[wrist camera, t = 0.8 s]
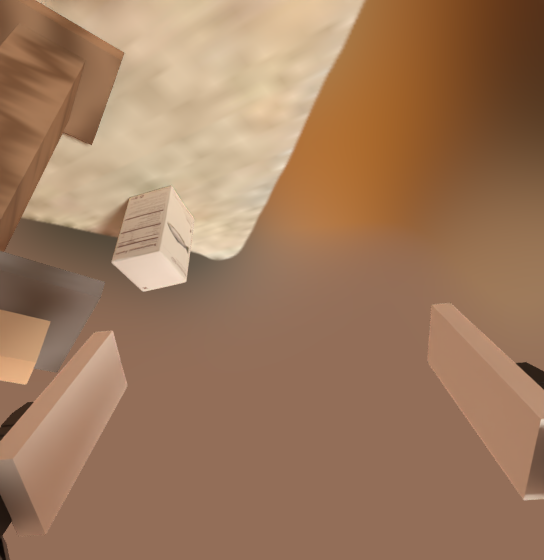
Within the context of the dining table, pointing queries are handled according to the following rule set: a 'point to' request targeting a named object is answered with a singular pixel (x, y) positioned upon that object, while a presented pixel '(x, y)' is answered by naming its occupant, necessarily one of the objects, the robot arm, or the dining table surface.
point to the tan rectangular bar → (20, 345)
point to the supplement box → (155, 240)
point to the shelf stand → (46, 153)
